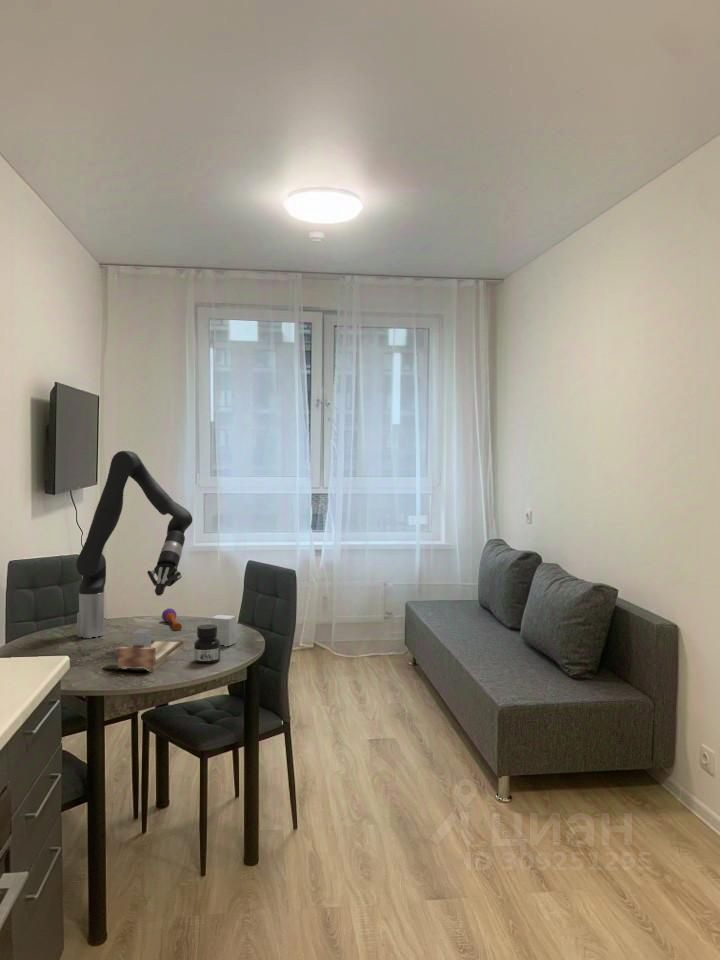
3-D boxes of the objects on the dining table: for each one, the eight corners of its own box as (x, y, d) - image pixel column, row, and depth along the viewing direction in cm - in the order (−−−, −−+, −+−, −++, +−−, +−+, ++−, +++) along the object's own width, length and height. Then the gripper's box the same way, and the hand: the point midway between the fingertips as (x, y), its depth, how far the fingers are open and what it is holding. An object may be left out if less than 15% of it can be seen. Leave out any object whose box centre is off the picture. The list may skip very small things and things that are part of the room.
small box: (236, 643, 273) (236, 615, 273) (229, 647, 268) (229, 619, 267) (218, 641, 276) (218, 614, 275) (210, 645, 270) (210, 617, 270)
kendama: (169, 622, 290) (159, 609, 308) (171, 636, 292) (162, 622, 309) (183, 618, 293) (173, 605, 311) (186, 632, 294) (175, 618, 312)
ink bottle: (190, 664, 245) (190, 629, 245) (196, 657, 254) (195, 623, 254) (218, 664, 245) (218, 629, 245) (223, 657, 254) (223, 623, 254)
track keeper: (128, 663, 240) (128, 632, 239) (135, 658, 246) (135, 628, 245) (148, 664, 239) (148, 633, 239) (155, 659, 245) (155, 628, 245)
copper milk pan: (118, 670, 238) (117, 648, 237) (152, 645, 269) (152, 625, 269) (153, 671, 237) (153, 649, 236) (184, 646, 269) (184, 626, 268)
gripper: (150, 549, 267) (137, 587, 256) (185, 550, 267) (174, 589, 255) (155, 561, 273) (142, 599, 261) (189, 562, 272) (178, 601, 260)
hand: (158, 594), depth 258 cm, fingers closed
